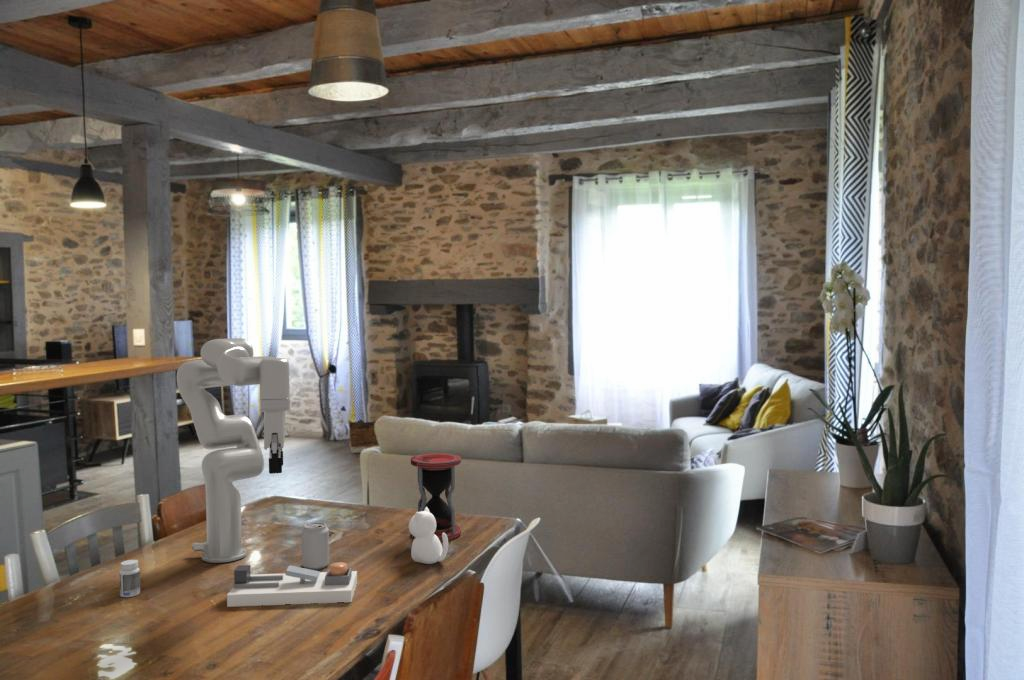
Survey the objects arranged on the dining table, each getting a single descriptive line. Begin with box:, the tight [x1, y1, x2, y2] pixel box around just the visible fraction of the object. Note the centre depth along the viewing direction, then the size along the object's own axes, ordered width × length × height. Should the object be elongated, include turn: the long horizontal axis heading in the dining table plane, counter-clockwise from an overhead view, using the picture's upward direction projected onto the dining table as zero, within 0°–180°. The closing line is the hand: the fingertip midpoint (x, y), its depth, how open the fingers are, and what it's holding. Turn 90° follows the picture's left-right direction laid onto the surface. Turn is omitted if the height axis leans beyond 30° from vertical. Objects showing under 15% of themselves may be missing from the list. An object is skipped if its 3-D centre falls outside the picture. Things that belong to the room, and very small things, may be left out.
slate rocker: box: [284, 565, 321, 581], centre depth 197 cm, size 8×4×1 cm, turn 96°
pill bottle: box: [118, 559, 141, 598], centre depth 197 cm, size 5×5×8 cm
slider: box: [233, 564, 251, 585], centre depth 195 cm, size 3×4×4 cm
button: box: [329, 561, 348, 576], centre depth 198 cm, size 4×4×2 cm
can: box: [301, 521, 330, 571], centre depth 218 cm, size 8×8×12 cm
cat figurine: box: [408, 507, 449, 565], centre depth 222 cm, size 9×12×15 cm
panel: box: [226, 567, 358, 608], centre depth 197 cm, size 30×14×5 cm, turn 96°
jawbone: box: [329, 529, 346, 545], centre depth 243 cm, size 9×20×2 cm, turn 17°
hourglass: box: [410, 452, 462, 542], centre depth 248 cm, size 16×16×25 cm
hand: (276, 469), depth 203 cm, fingers open, 9 cm apart
